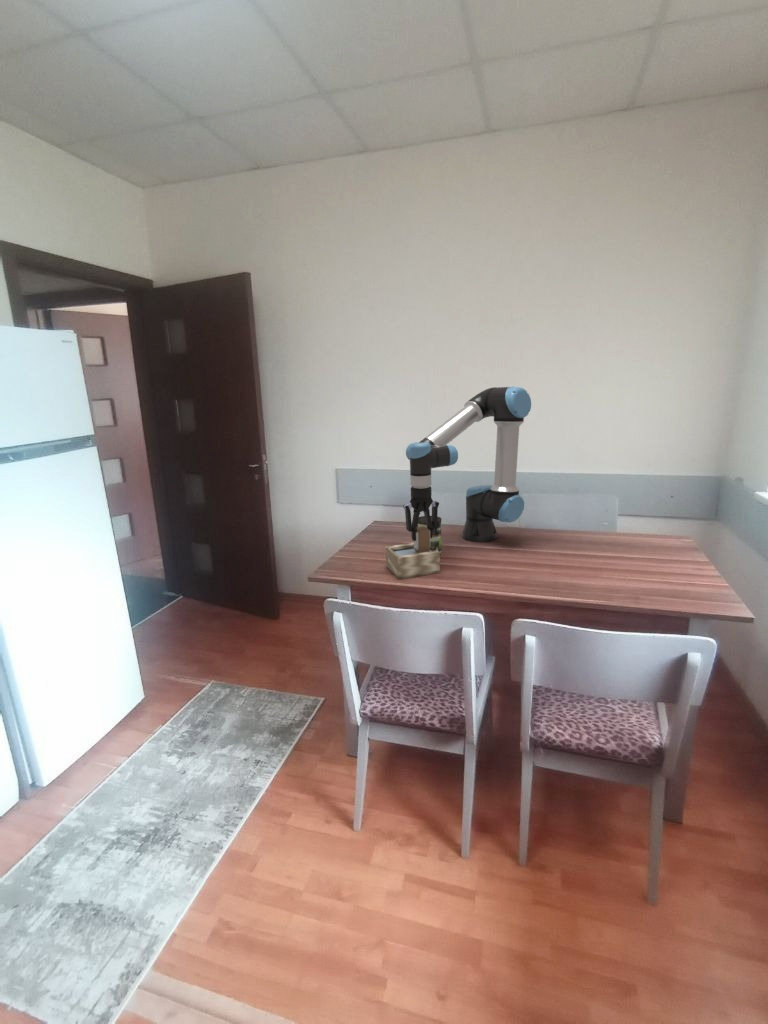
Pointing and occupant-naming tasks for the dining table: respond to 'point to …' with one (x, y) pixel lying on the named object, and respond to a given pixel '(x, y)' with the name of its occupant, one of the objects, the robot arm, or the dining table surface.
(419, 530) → the lid
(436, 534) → the coffee can
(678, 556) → the dining table surface
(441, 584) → the dining table surface
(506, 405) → the robot arm
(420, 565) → the box
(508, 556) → the dining table surface
